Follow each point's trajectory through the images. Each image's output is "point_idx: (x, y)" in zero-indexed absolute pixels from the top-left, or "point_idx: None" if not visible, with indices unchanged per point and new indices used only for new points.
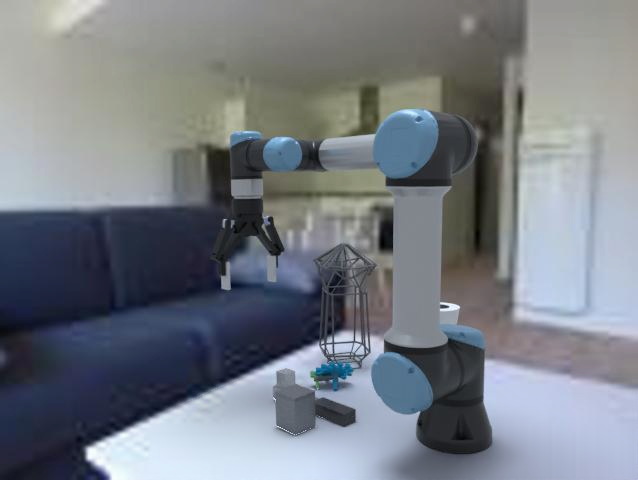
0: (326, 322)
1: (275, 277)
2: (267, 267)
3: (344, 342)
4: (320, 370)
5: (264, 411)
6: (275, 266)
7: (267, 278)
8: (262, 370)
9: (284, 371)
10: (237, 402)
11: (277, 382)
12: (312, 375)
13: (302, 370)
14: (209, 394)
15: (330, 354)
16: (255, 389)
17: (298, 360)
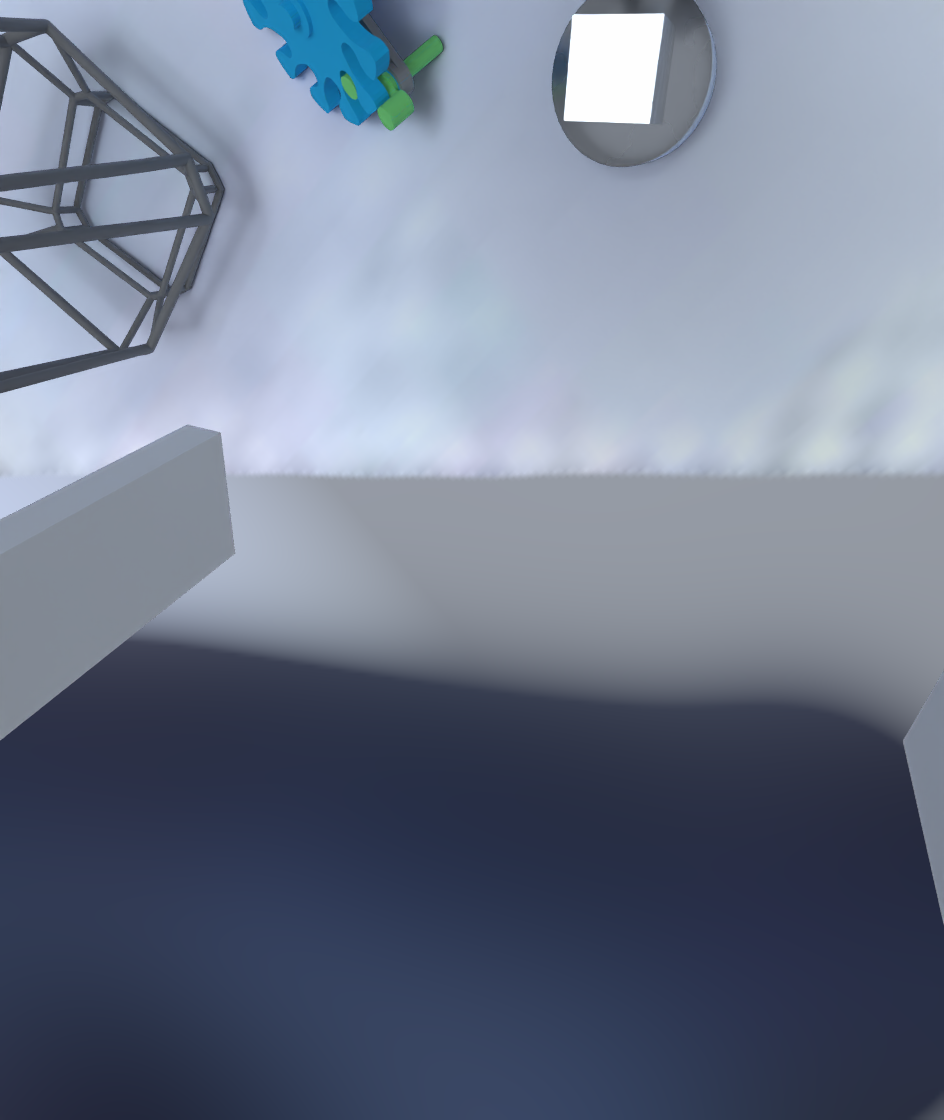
0: (52, 235)
1: (158, 449)
2: (112, 643)
3: (38, 280)
4: (370, 34)
5: (854, 37)
6: (23, 518)
7: (216, 567)
8: (437, 469)
9: (620, 72)
10: (817, 275)
11: (660, 113)
12: (404, 96)
13: (320, 321)
14: (800, 466)
15: (146, 292)
16: (626, 330)
17: (259, 422)
